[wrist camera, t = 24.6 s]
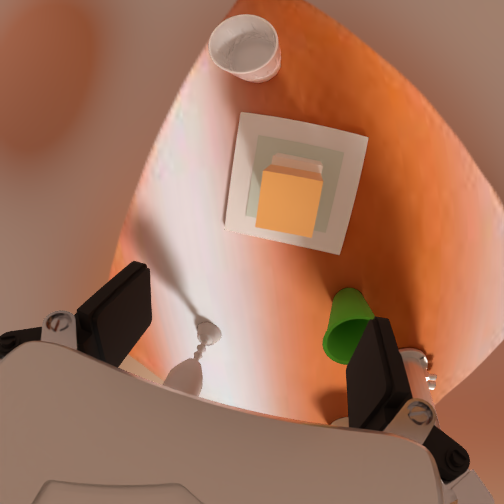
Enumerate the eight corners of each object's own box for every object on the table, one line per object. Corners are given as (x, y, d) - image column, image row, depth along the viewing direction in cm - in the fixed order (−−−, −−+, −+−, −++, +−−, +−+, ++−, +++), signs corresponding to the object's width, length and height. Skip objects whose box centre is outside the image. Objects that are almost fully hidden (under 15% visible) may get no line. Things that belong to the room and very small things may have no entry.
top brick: (320, 173, 32) (323, 181, 27) (311, 221, 35) (311, 238, 29) (270, 164, 33) (263, 170, 28) (263, 211, 36) (255, 227, 30)
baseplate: (367, 137, 36) (368, 137, 35) (339, 252, 43) (339, 255, 42) (242, 112, 38) (240, 111, 37) (225, 228, 45) (223, 230, 44)
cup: (315, 315, 49) (314, 359, 39) (330, 271, 45) (335, 310, 35) (362, 325, 48) (370, 369, 38) (381, 282, 44) (396, 322, 34)
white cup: (271, 95, 36) (259, 83, 27) (221, 75, 36) (197, 61, 27) (294, 50, 33) (290, 26, 24) (244, 32, 32) (226, 7, 23)
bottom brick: (320, 161, 37) (322, 166, 32) (309, 215, 41) (309, 228, 35) (277, 152, 38) (272, 155, 33) (268, 206, 41) (261, 218, 36)
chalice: (191, 314, 54) (150, 381, 37) (225, 320, 53) (193, 393, 36) (194, 343, 57) (159, 408, 40) (226, 349, 56) (198, 419, 39)
